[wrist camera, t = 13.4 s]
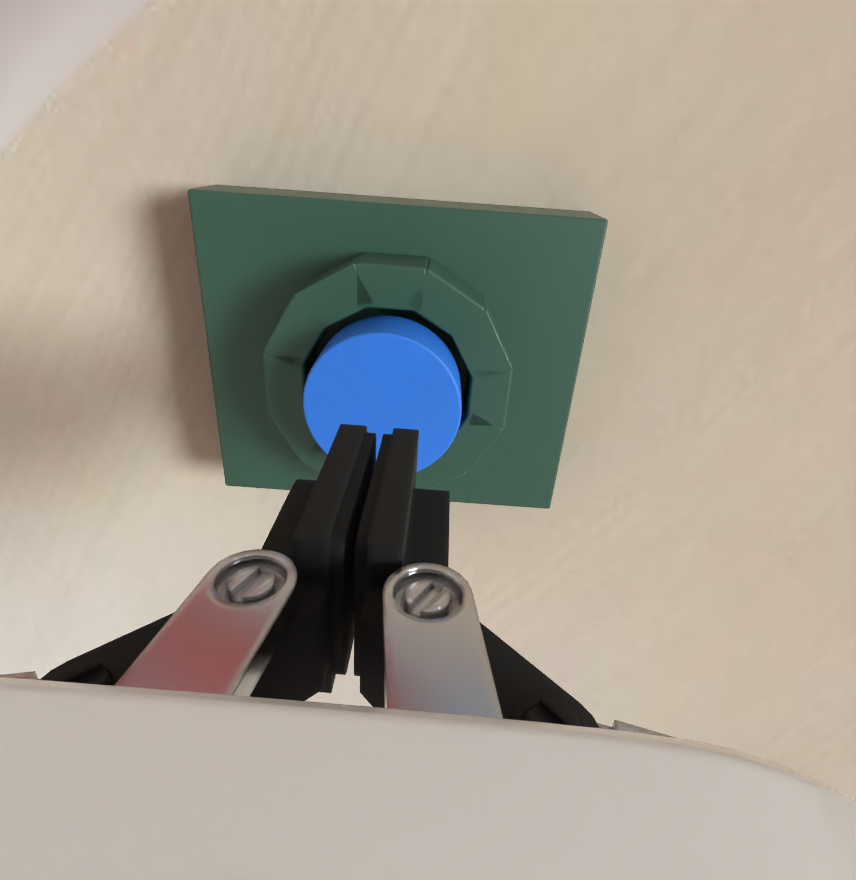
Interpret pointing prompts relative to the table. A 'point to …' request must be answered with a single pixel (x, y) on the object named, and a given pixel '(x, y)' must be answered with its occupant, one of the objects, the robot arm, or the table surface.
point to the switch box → (402, 295)
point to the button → (385, 385)
